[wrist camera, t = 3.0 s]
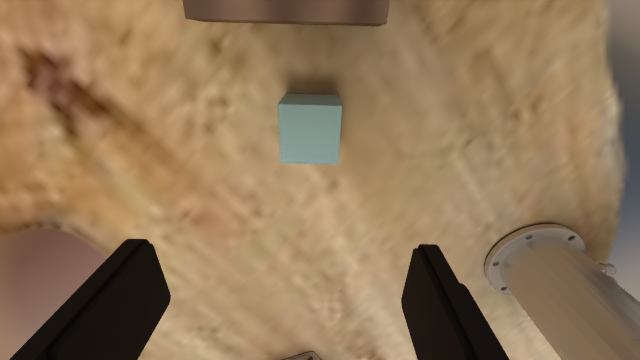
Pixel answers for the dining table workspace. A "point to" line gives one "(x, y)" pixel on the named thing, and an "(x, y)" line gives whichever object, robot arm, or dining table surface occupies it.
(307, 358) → the coffee box
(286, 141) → the teal cube
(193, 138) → the dining table surface
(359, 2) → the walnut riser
